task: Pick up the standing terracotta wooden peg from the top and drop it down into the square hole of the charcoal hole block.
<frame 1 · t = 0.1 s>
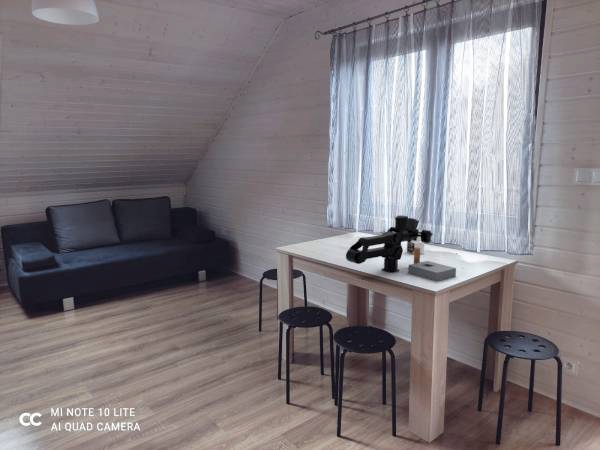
hand: (425, 232, 235), 17 cm above the table, tool horizontal, fingers open, 9 cm apart
terracotta peg: (416, 266, 230), on the table
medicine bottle: (415, 253, 261), on the table
hole block: (427, 273, 218), on the table
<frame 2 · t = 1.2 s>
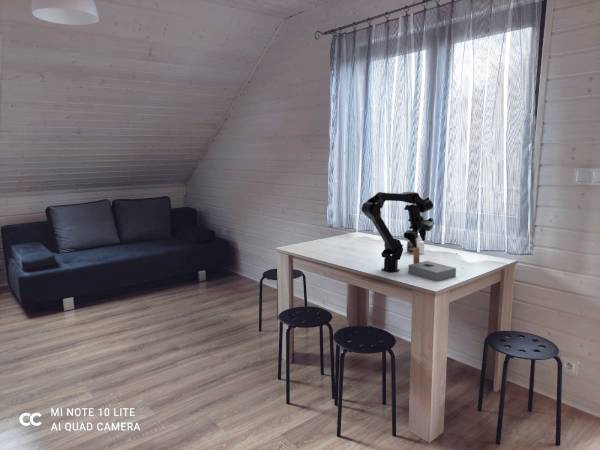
hand: (419, 244, 229), 12 cm above the table, tool tilted 15°, fingers open, 9 cm apart
nothing on the table moved.
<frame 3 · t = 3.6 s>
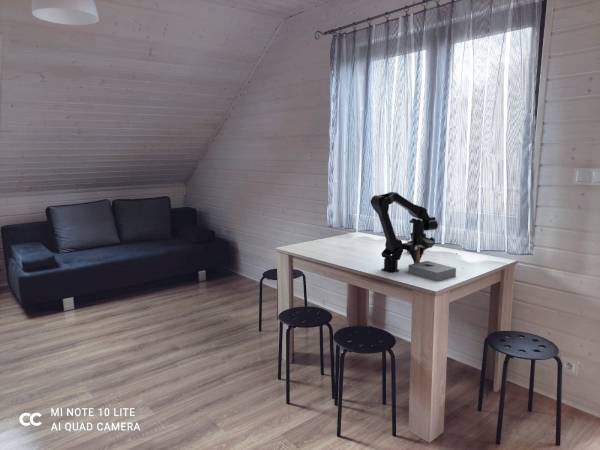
hand: (416, 261, 229), 3 cm above the table, tool pointing down, fingers closed on terracotta peg, 3 cm apart
terracotta peg: (416, 266, 230), on the table, touching gripper
everything else where it was.
when the fingers open (5 cm above the table, at t = 8.8 s): terracotta peg drops 2 cm, resting in hole block.
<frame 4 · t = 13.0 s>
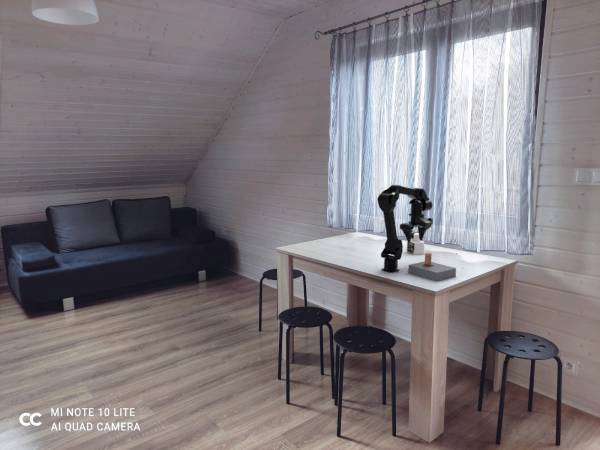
hand: (415, 241, 234), 12 cm above the table, tool pointing down, fingers open, 9 cm apart
terracotta peg: (427, 273, 218), resting in hole block
everything else where it was.
at the end: terracotta peg 0.1 cm off-centre on the hole block, point 0.0 cm above the hole block's base; terracotta peg tilted 0°; the gripper is holding nothing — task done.
